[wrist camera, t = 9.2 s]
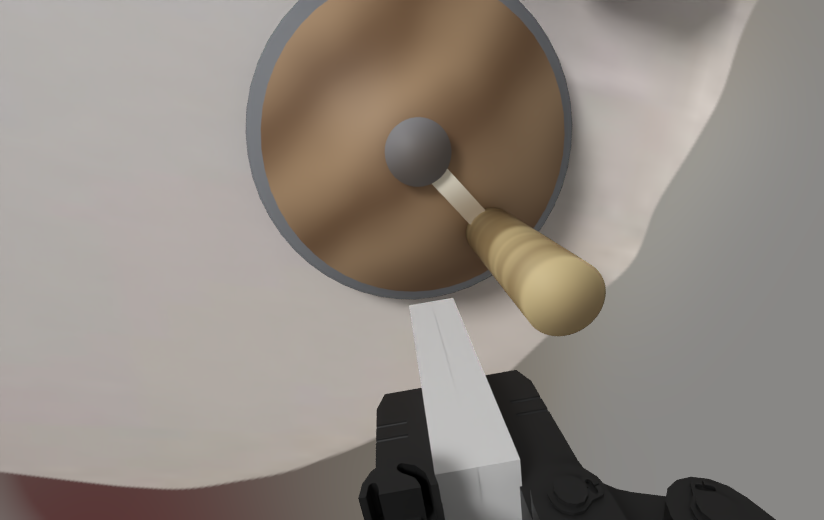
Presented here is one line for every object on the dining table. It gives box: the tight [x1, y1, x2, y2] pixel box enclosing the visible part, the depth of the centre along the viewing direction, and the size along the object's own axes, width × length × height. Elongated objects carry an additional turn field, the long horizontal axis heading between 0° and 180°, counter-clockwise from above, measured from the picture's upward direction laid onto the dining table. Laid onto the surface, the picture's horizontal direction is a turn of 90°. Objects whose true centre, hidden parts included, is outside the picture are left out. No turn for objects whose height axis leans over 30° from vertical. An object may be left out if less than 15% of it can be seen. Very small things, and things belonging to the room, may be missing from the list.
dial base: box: [246, 0, 572, 299], centre depth 23 cm, size 20×20×5 cm
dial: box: [261, 0, 606, 336], centre depth 18 cm, size 17×17×12 cm
